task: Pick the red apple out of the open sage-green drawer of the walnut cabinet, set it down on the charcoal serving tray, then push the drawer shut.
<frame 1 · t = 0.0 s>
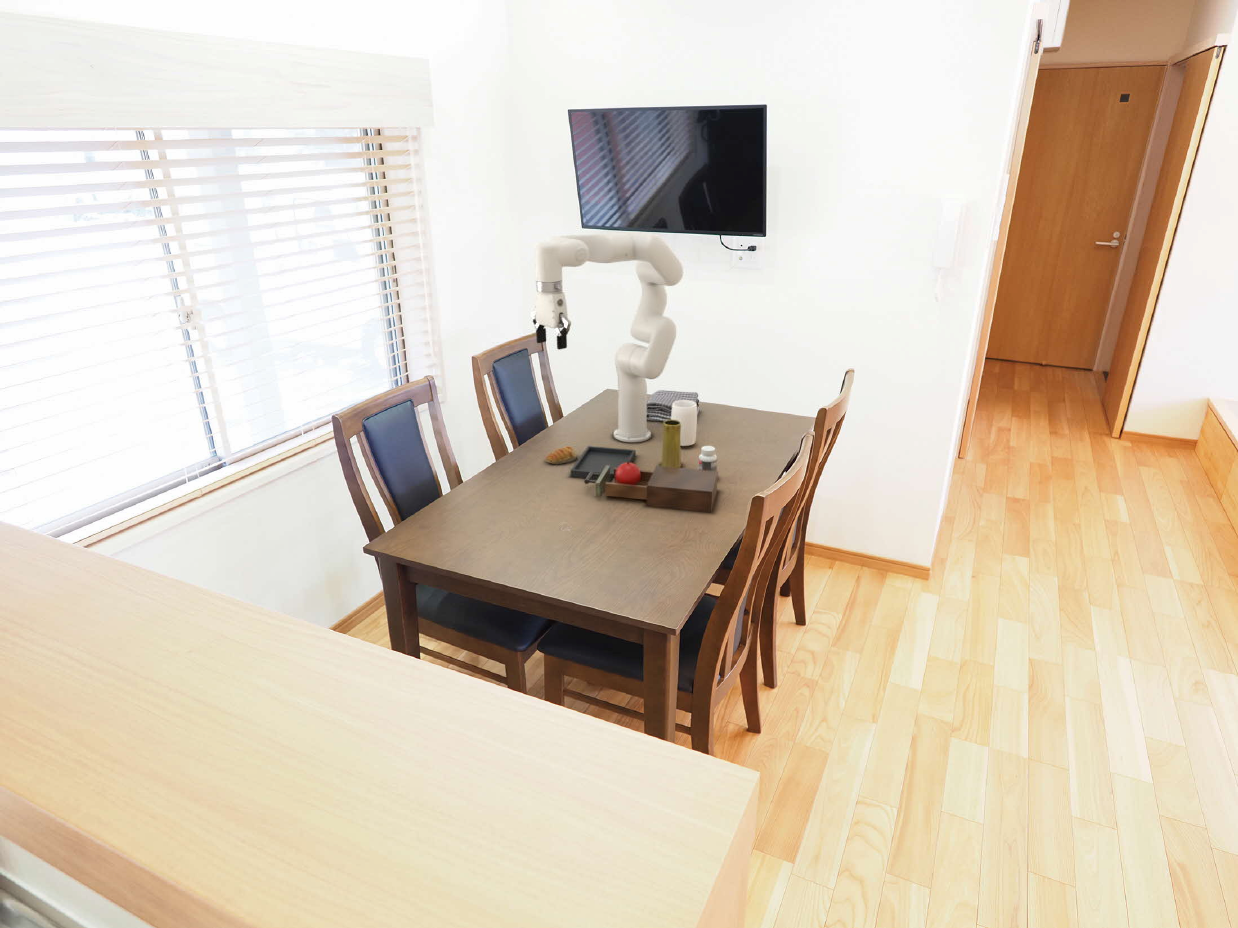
hand: (551, 345, 230), 37 cm above the table, tool pointing down, fingers open, 9 cm apart
apple: (628, 486, 223), point 2 cm above the table, touching drawer
pill bottle: (706, 479, 233), on the table
towel: (672, 417, 283), on the table
cabinet: (682, 498, 221), on the table
pastry: (562, 460, 247), on the table
drawer: (622, 482, 223), point 3 cm above the table, slide at 13.5 cm, touching apple
vase: (671, 466, 242), on the table
cup: (683, 445, 258), on the table
tray: (604, 466, 242), on the table
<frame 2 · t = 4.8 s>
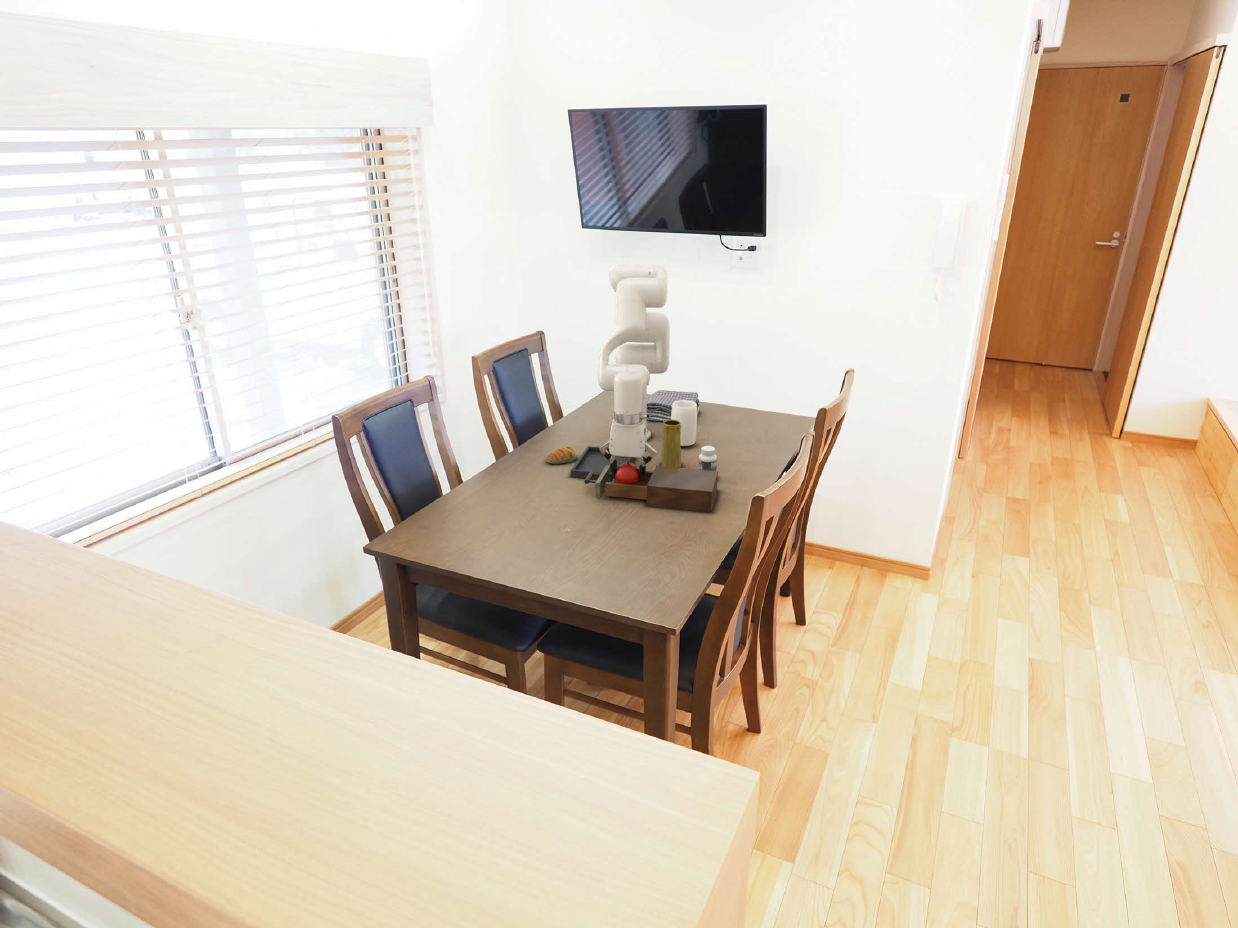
hand: (628, 475, 222), 6 cm above the table, tool pointing down, fingers closed on apple, 7 cm apart
apple: (628, 486, 223), point 2 cm above the table, touching drawer, gripper
everything else where it was.
when the fingers open (4 cm above the table, at t = 12.9 s): apple stays where it is, resting on tray.
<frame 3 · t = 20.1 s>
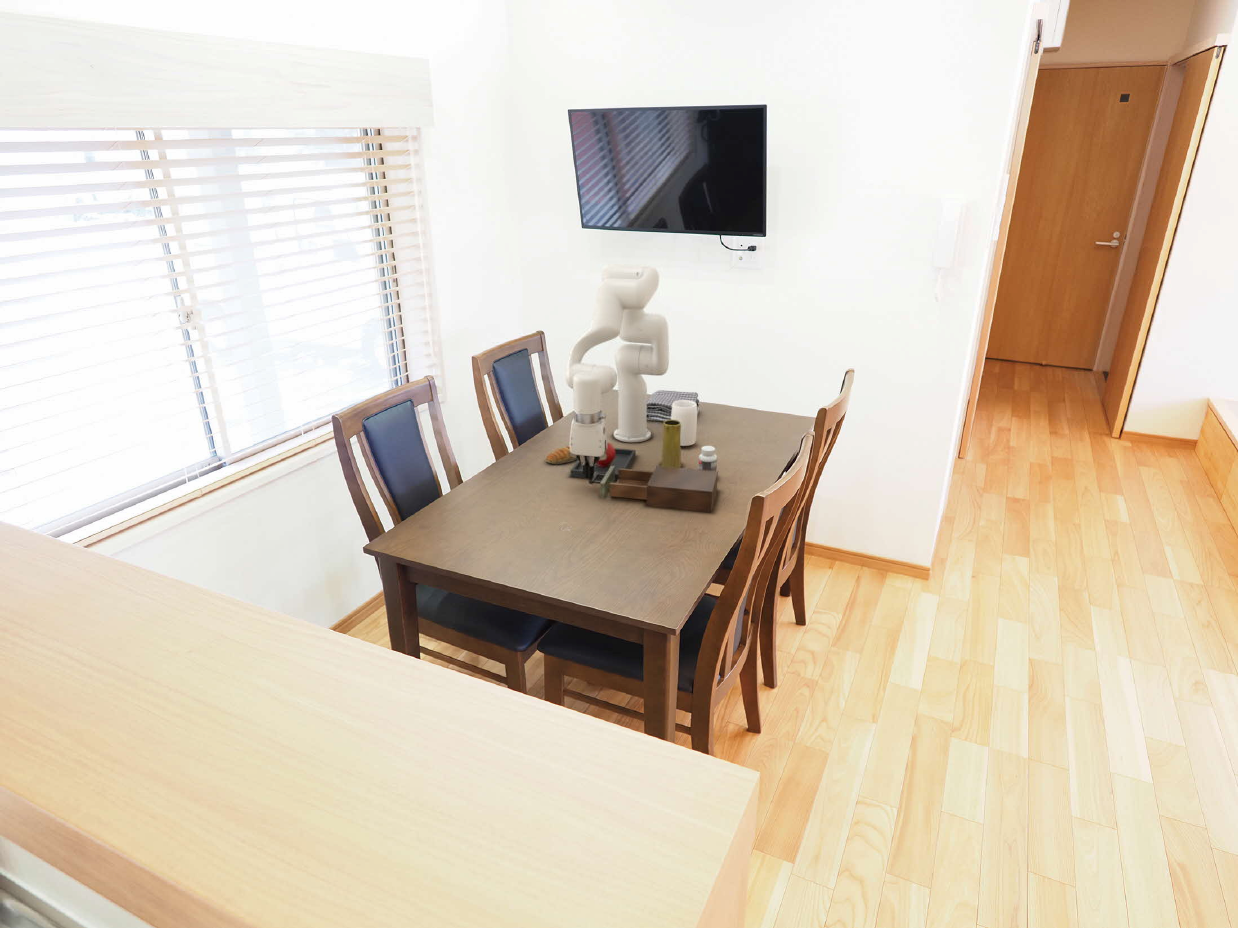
hand: (588, 476, 225), 4 cm above the table, tool pointing down, fingers closed
apple: (603, 464, 241), point 1 cm above the table, touching tray
drawer: (626, 483, 223), point 3 cm above the table, slide at 12.1 cm, touching gripper
everything else where it was.
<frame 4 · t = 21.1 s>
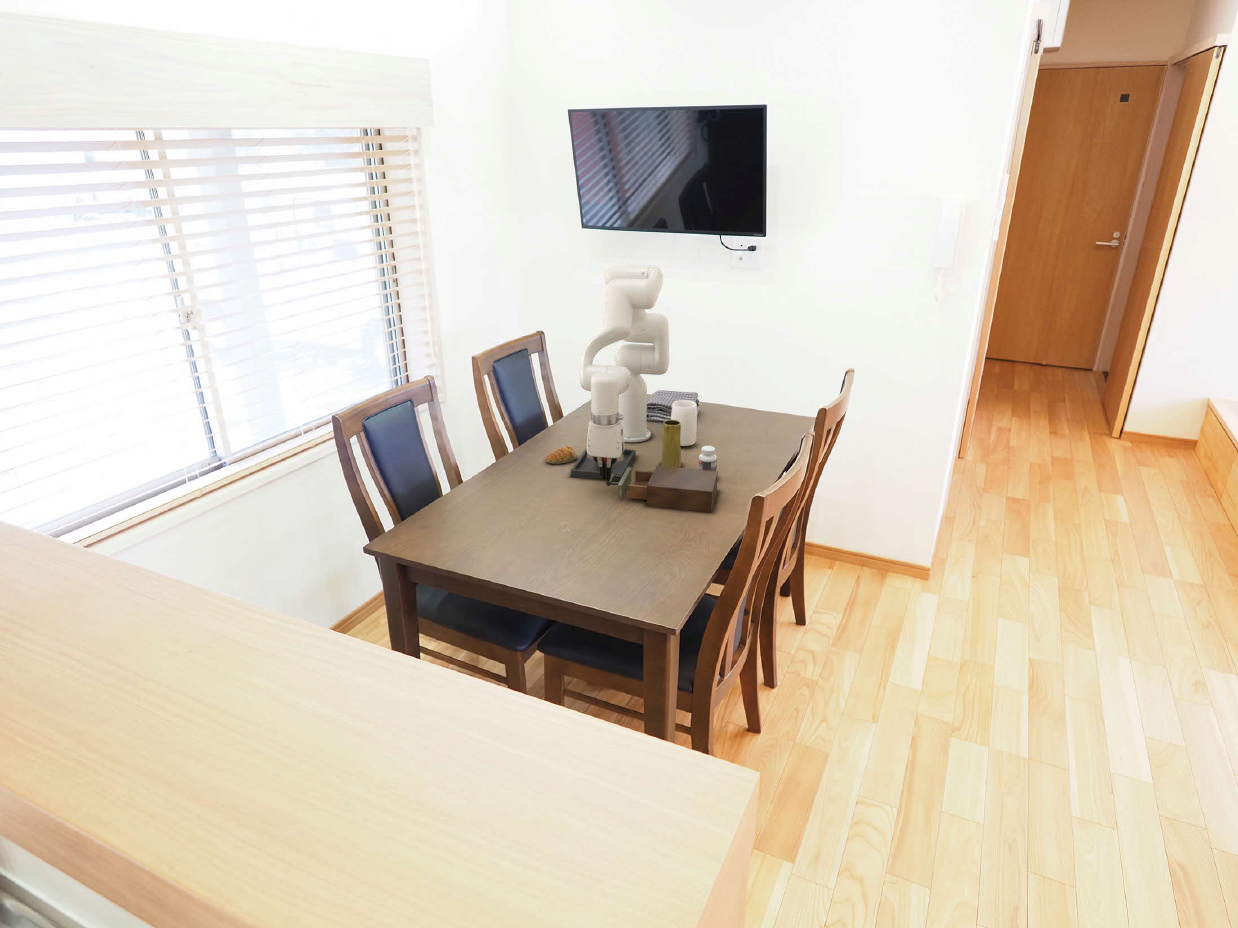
hand: (605, 478, 224), 4 cm above the table, tool pointing down, fingers closed
drawer: (644, 484, 222), point 3 cm above the table, slide at 7.1 cm, touching gripper
everything else where it was.
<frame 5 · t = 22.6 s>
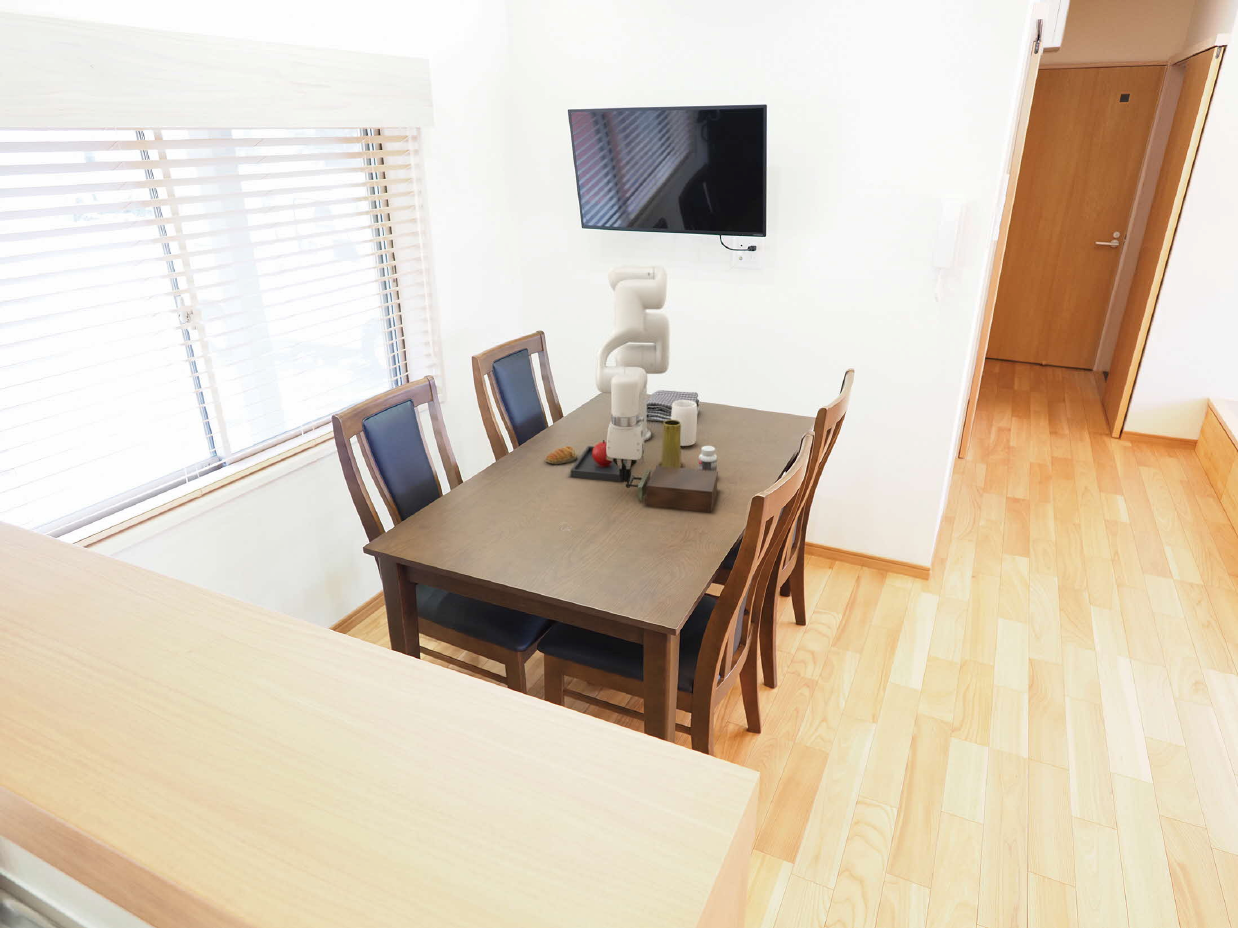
hand: (625, 479, 223), 4 cm above the table, tool pointing down, fingers closed
drawer: (663, 486, 221), point 3 cm above the table, slide at 1.5 cm, touching gripper
everything else where it was.
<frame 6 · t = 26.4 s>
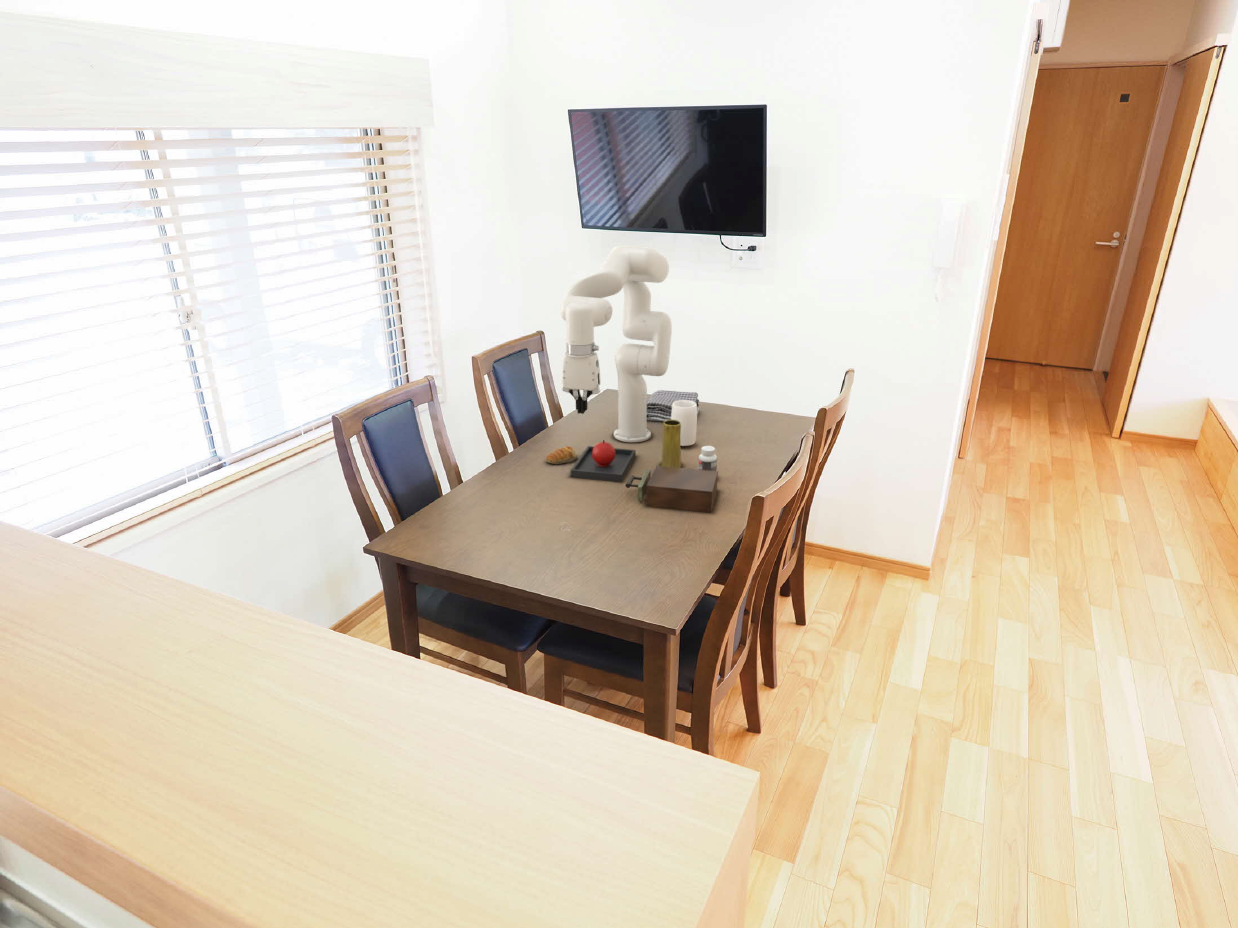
hand: (581, 412, 222), 22 cm above the table, tool pointing down, fingers closed
drawer: (663, 486, 221), point 3 cm above the table, slide at 1.5 cm
everything else where it was.
at the end: apple inside the target area in the tray (0.2 cm from its centre), point 0.8 cm above the tray's base; the gripper is holding nothing; drawer slide at 1.5 cm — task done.
